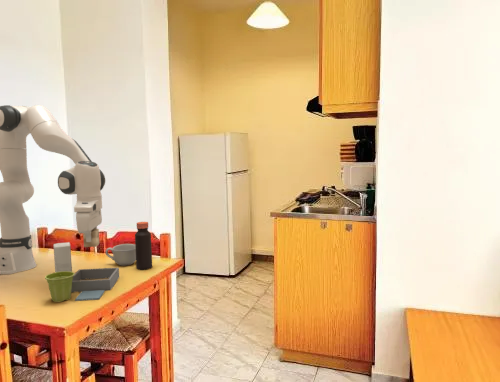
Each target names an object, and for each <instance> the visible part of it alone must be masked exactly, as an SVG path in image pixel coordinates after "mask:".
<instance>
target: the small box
mask: <svg viewBox="0 0 500 382" xmlns="http://www.w3.org/2000/svg"><path fill="white" fill-rule="evenodd" d="M71 249H72V248H71V243H70V242H69V241H68V242H58V243H57V242H56V243H53V255H54V256H53V257H54V259H53V261H54V273H55V272H62V271H70V272H73V265H72V250H71Z"/></svg>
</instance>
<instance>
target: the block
mask: <svg viewBox="0 0 500 382" xmlns="http://www.w3.org/2000/svg"><path fill="white" fill-rule="evenodd" d="M99 231H100V229H99V228H97V229H93V230H91V237H92V241H91V242H86V237H85V234H84V233H82V236H83V248H95V247H98V246H99V244H100V232H99Z"/></svg>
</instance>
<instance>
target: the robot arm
mask: <svg viewBox="0 0 500 382" xmlns="http://www.w3.org/2000/svg"><path fill="white" fill-rule="evenodd" d="M29 135H31V137H32V139H33V141H34V142H35V144H36V145H37V146H38V147H39V148H40V149H42V150H43V151H46V152H49V153H55V154H59V155H62V156H65V157H67V158H69V159H70V160H72V162H73V163H74V164H75V165H74V166H73V167H71V168H69V169H66V170H62V171H61V172H60V174H59V175H58V177H57V187H58V189H59V190H60V192H61V193H62V194H64V195H70V196H71V195H76V203H75V205H74V207H73V210H74V213H76V214H75V220H76V228H77V231H78V233H79V234H83V233H84V234H85V237H86V242H91V241H92V237H91V230H93V229H98V226H100V225H101V224H102V221H103V217H102V216H103V215H102V209H103V201H102V200H103V199H102V198H103V197H102V193H101V191H102V190H103V189H104V187H105V185H106V177H105V174H104V173H103V171H102V170H101V169H100V166H99V165H98V163H96V162H94V161H92V160H91V157H89V156H88V154H87V153H86V152H85V150H84V149H83V148H82V146H81V145H80V144H79V143H78V142H77V141H76V140H75V139H73V137H71V136H70V135H68V133H67V132H65V131H64V130H63V128H62V127H61V126H60V124H59V122H58V120H57V119H56V118H55V116H54V115H53V113H52V112H51V111H50V110H49V109H48V108H47V107H46V106H44V105H39V104H37V105H36V104H35V105H32V106H27V105H26V106H25V105H22V106H19V105H11V104H10V105H0V172H1V176H2V179H3V180H2V181H1V182H0V236H1V237H0V275H11V274H14V273H18V272H23V271H28V270H31V269H34V268H36V267H37V263H36V261H35V257H34V253H33V249H32V248H33V240H32V235H31V230H30V229H31V228H30V218H29V217H28V215H27V214H26V212H25V208H24V206H23V204H24V203H26V202H29V200H30V199H31V198H32V197H33V195H34V193H35V188H34V185H33V184H32V182H31V180H30V179H31V178H30V175H29V171H28V161H27V159H28V158H27V156H28V155H27V137H28V136H29Z"/></svg>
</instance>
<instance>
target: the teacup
mask: <svg viewBox="0 0 500 382" xmlns="http://www.w3.org/2000/svg"><path fill="white" fill-rule="evenodd" d="M109 251H111V253H112V254H113V255H111V254H110V253H109ZM104 253H105V255H106V257H107V258H110V259H112V261H114V263H116V264H117V265H118V266H123V267H124V266H131V265H133V264H134V263H136V248H135V243H133V244H132V243H121V244H117V245H114V246H113V247H107V248H106V249H105V252H104Z"/></svg>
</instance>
